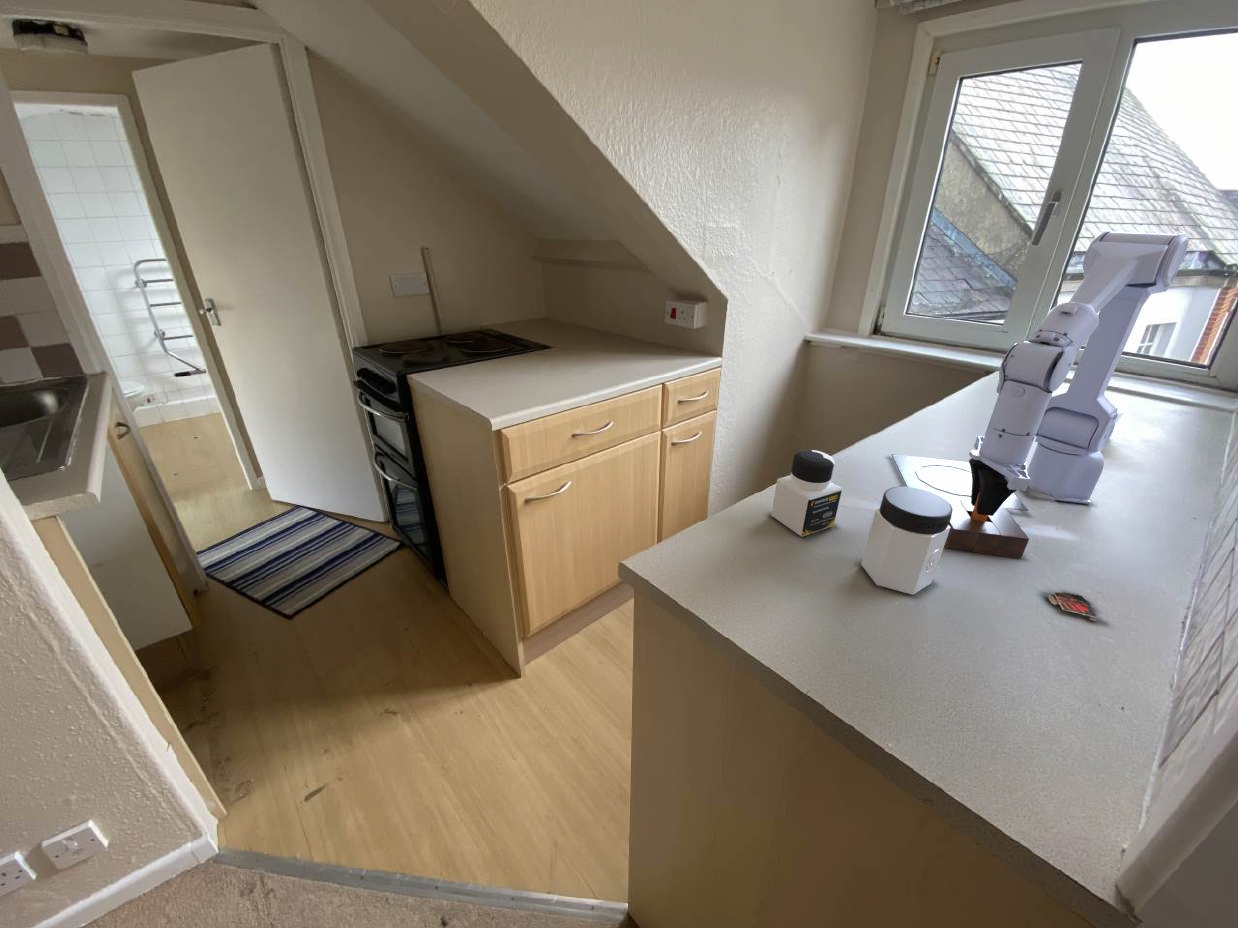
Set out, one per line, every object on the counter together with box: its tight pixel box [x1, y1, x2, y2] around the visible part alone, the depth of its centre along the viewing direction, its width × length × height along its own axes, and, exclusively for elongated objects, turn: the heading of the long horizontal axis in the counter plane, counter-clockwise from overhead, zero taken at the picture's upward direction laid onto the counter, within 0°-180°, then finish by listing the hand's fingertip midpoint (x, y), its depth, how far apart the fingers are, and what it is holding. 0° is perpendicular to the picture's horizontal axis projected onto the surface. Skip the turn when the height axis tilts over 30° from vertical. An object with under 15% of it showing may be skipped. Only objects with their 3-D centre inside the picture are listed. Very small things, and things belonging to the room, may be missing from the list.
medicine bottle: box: [771, 449, 843, 537], centre depth 84 cm, size 7×7×12 cm
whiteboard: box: [891, 453, 1029, 512], centre depth 98 cm, size 18×18×1 cm
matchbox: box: [1046, 591, 1100, 622], centre depth 68 cm, size 5×5×1 cm
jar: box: [860, 486, 953, 596], centre depth 72 cm, size 9×8×12 cm
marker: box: [971, 492, 988, 522], centre depth 81 cm, size 2×2×10 cm
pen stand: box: [944, 498, 1030, 559], centre depth 83 cm, size 10×10×4 cm
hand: (981, 509), depth 81 cm, fingers closed on marker, 2 cm apart
